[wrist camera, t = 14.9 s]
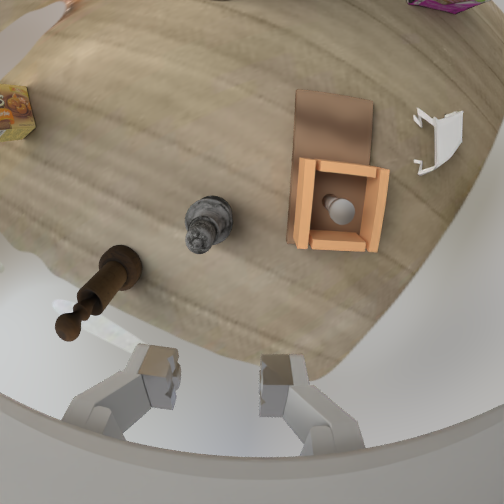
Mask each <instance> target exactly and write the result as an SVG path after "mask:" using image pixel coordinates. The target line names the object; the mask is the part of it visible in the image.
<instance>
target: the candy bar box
mask: <svg viewBox="0 0 504 504" xmlns="http://www.w3.org/2000/svg"><path fill="white" fill-rule="evenodd" d="M406 1H407V3H408V4H411V5H417V6H423V7H428V8H432V9H437V10H441V11H445V12H449V13H453V14H457V13H460V12H462V11H465V10H467V9H469V8H472V7H474V6H477V5H479V4H482V3H484V2H487V1H490V0H406Z"/></svg>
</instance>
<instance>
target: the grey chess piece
mask: <svg viewBox="0 0 504 504" xmlns="http://www.w3.org/2000/svg"><path fill="white" fill-rule="evenodd" d="M232 225H233V220H232V210H231V208H230V206H229V204H228V203H227V202H226V201H225V200H224V199H222V198H220V197H218V196H207V197H204V198H202V199H201V200H199V201H196V202H195V203H194V204H192V205H191V207H190V208H189V209H188V211H187V213H186V216H185V226H186V229H187V234H186V239H185V241H186V245H187V247H188V249H189V250H190V251H192V252H193V253H196V254H203V253H205V252H207V251H208V250H209V249H210V248H211V246H212V245H215V244H218V243H221V242H222V241H224V240H225V239H226V238H227V237H228V236H229V234H230V232H231V230H232Z"/></svg>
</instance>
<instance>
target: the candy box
mask: <svg viewBox="0 0 504 504" xmlns="http://www.w3.org/2000/svg"><path fill="white" fill-rule="evenodd" d="M34 128H36V126H35V122H34V118H33V114H32V110H31V106H30V102H29V97H28V92H27V87H25V86H16V85H7V84H0V142H5V141H13V140H22V139H24V138H25V137H26V136H27V135H28V134H29V133H30V132H31V131H32V130H33V129H34Z"/></svg>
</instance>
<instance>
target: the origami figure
mask: <svg viewBox="0 0 504 504" xmlns="http://www.w3.org/2000/svg"><path fill="white" fill-rule="evenodd" d="M417 111H418V117H419V119H418V118H417V117H416V116H415V115H413V118H414V121H415V122H416V123H417V124H418V125H419V126H420V127H421V128H422V119H421V117H422V118H424V119H425V120H426V121H428V122H429V123H430V124H432V125H433V126H434V133H435V166H433V167H430V168H427V169H424V170H422V161H420V160H415V159H414V163H419V164H420V167H419V171H418V175H420V176H421V175H424V174H426V173H429V172H431V171H433V170H435V169H437V168H438V167H439V166H440V165H442V164H443V163H444V162H446V161H447V160H448V159H450V158H451V157H452V155H453V154H454V152H455V151H456V150H457V148H458V147H459V145H460V143H462V123H463V111H460V112H459V111H456V112H453V113H450V114H447V115H446V114H445V118H443V119H439V120H438V119H437V118H436V117H434V118H433V119H432V118H431V117H430V116H429V115H427V114H426V113H425V112H424V111H422V110H421V109H419V108H418V107H417Z"/></svg>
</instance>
